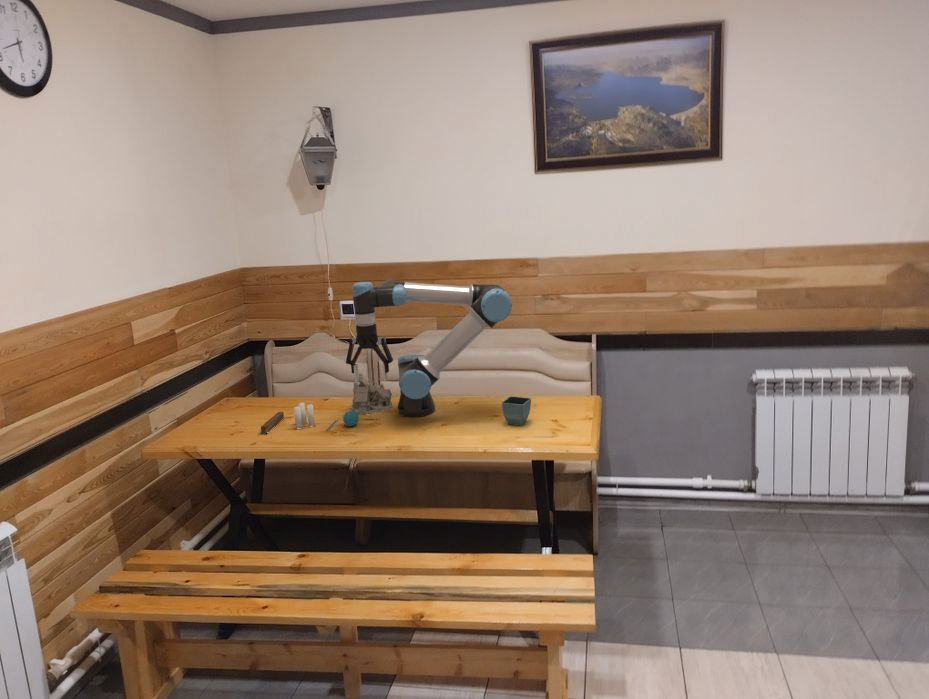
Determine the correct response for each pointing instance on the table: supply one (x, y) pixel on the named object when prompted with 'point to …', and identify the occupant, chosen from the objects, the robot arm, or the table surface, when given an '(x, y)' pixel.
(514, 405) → the flower pot
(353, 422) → the ball
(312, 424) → the pin front
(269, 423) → the brown wooden bar
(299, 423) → the pin
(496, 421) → the table surface
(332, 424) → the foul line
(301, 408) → the pin
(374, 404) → the grey castle model
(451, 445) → the table surface
